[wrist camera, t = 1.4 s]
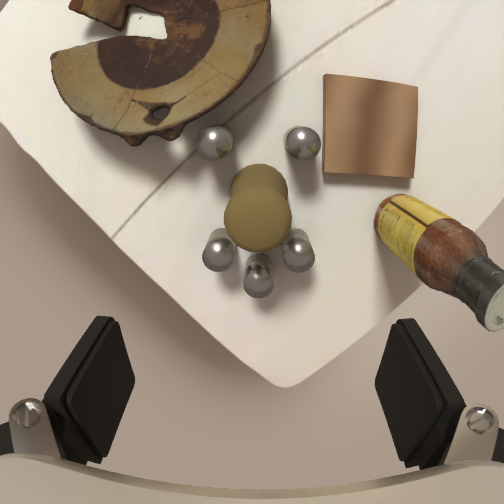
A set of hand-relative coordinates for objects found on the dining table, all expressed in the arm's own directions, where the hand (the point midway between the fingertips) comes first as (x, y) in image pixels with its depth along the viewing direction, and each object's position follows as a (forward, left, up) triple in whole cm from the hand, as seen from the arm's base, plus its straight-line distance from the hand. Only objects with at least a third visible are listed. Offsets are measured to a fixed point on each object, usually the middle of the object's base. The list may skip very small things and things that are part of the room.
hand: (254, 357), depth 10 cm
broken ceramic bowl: (+9, -21, -25) cm, 34 cm away
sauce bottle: (-16, +3, -25) cm, 30 cm away
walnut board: (-11, -7, -25) cm, 28 cm away
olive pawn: (0, 0, -25) cm, 25 cm away
